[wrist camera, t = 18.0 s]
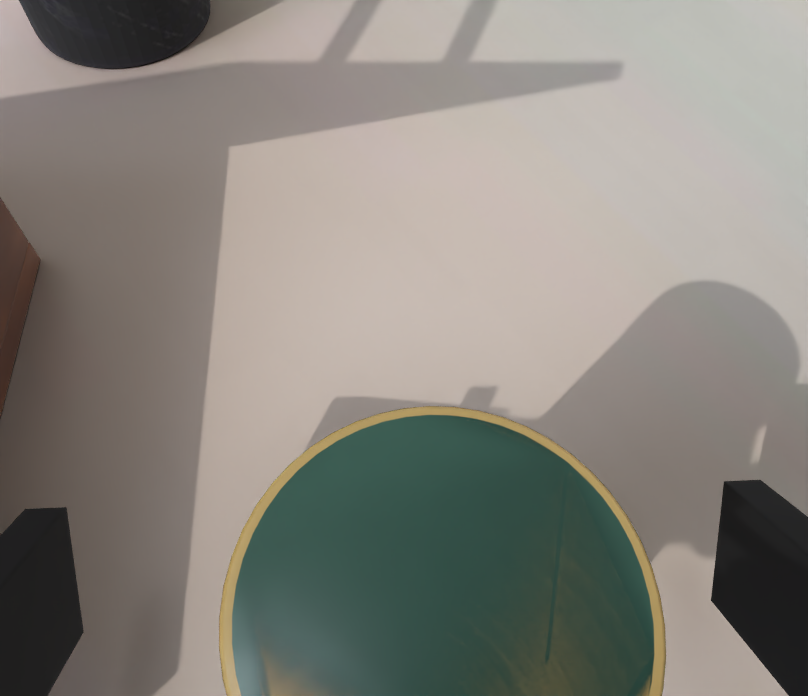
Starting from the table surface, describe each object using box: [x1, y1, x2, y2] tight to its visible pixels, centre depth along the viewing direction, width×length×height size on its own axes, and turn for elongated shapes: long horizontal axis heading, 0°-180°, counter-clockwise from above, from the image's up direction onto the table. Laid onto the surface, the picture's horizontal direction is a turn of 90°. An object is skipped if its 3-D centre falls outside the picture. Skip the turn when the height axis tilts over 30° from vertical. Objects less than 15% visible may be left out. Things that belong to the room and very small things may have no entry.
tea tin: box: [219, 406, 666, 696], centre depth 13 cm, size 5×5×11 cm
